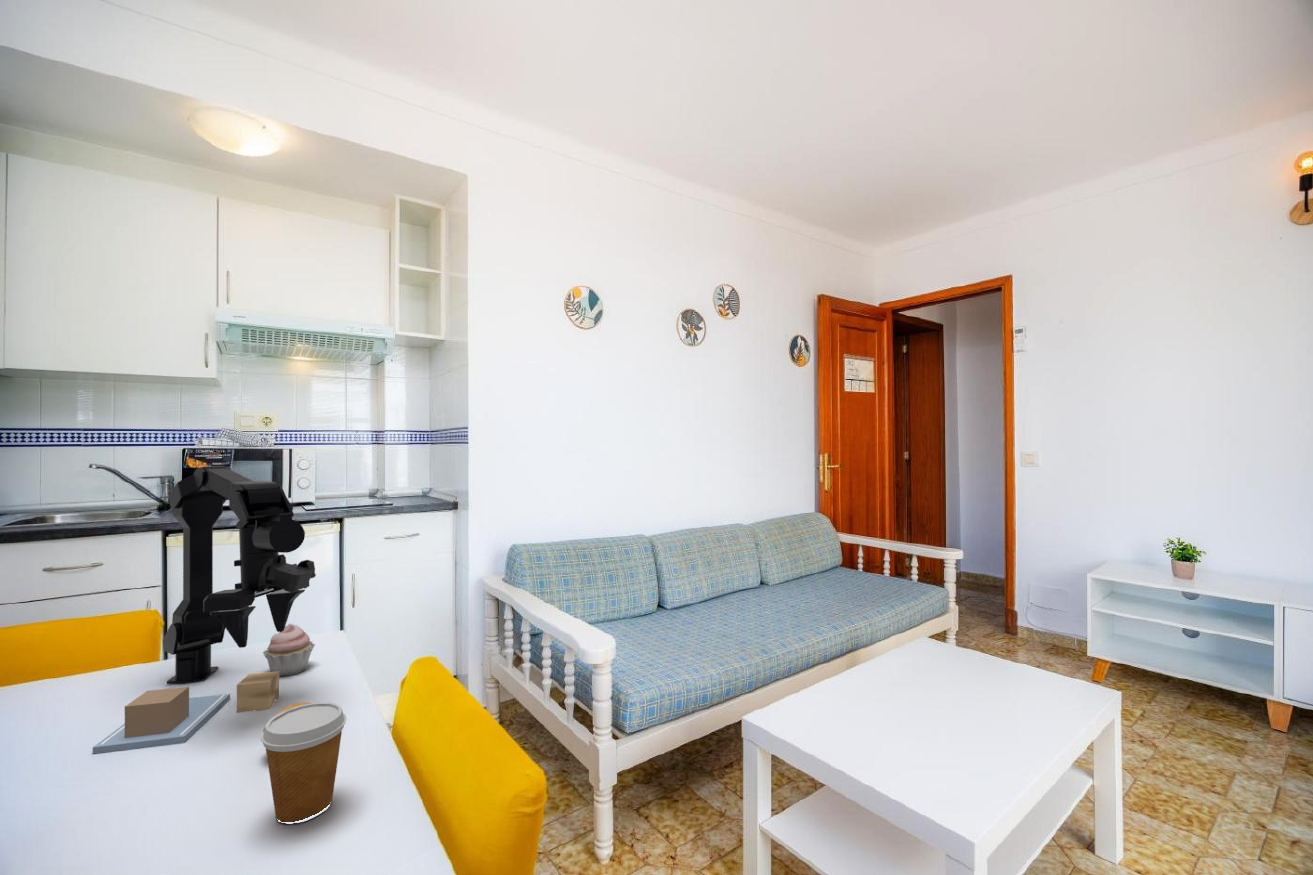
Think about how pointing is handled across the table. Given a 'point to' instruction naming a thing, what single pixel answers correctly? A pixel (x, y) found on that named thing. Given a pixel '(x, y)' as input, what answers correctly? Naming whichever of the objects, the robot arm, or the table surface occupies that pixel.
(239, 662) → the table surface
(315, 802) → the disposable coffee cup
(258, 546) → the robot arm
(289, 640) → the cupcake
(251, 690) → the oak cube
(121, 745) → the blueprint board
